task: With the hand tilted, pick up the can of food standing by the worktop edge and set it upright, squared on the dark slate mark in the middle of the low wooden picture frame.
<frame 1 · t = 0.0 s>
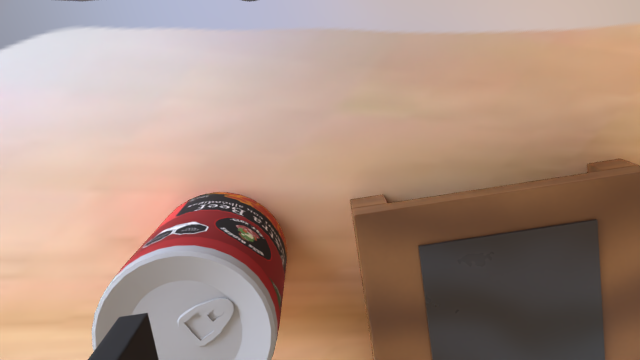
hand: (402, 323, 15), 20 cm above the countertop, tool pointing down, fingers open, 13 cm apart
canned food: (223, 250, 36), on the countertop
wooden picture frame: (495, 289, 36), on the countertop
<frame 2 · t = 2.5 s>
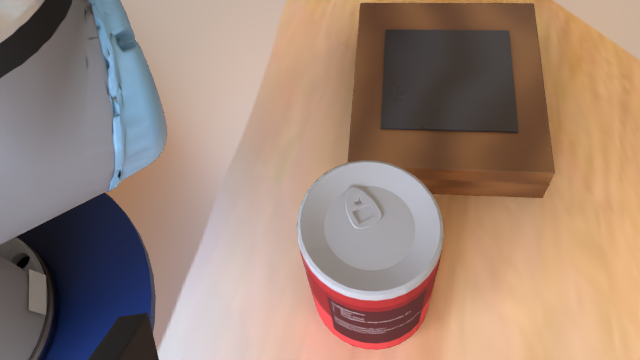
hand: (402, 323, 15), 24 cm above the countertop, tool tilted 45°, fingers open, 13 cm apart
canned food: (370, 295, 40), on the countertop
wooden picture frame: (442, 107, 48), on the countertop
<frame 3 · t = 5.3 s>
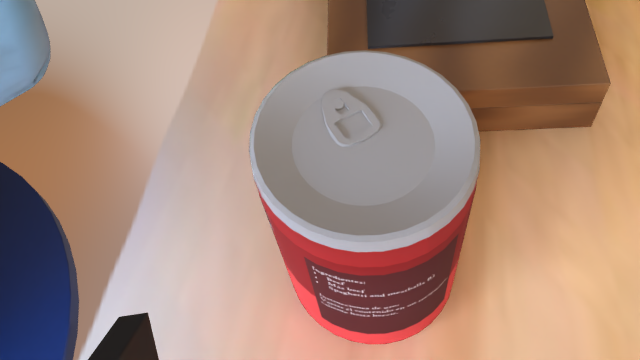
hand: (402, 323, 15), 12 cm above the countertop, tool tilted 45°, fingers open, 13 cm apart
canned food: (371, 270, 29), on the countertop
wooden picture frame: (445, 28, 37), on the countertop
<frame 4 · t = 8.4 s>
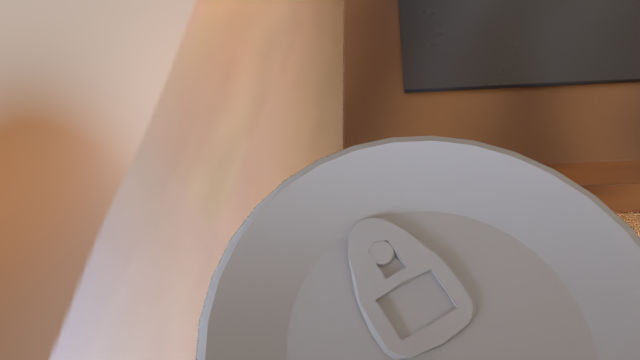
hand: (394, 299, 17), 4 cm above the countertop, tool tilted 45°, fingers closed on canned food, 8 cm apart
wooden picture frame: (506, 56, 26), on the countertop
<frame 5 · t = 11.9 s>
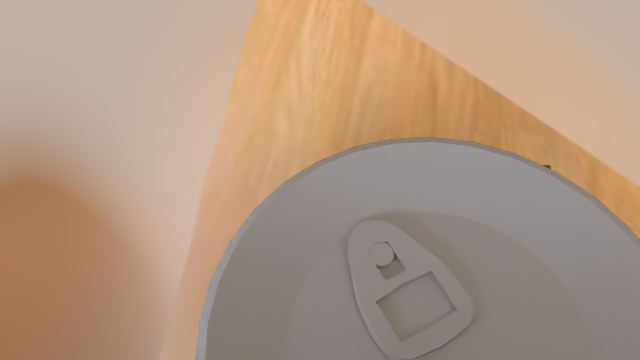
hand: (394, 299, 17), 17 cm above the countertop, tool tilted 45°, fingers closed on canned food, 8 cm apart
when the fingers open (7 cm above the countertop, at t = 15.9 s): canned food stays where it is, resting on wooden picture frame.
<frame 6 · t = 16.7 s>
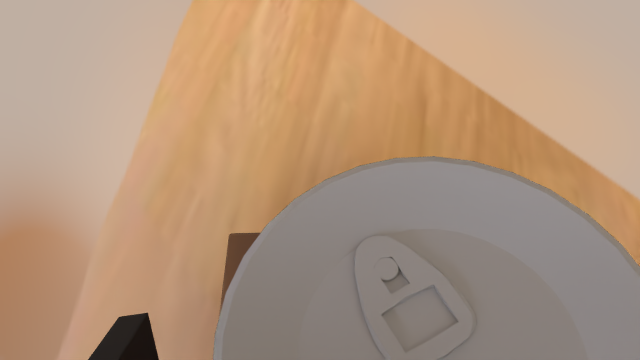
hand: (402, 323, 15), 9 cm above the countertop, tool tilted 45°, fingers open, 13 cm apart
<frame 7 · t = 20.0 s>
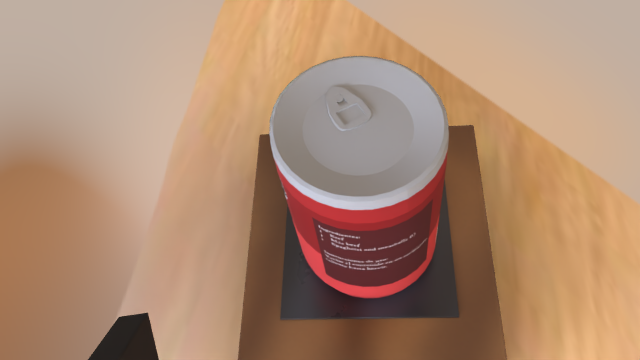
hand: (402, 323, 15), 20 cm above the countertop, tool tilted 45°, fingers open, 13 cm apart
canned food: (367, 240, 35), point 4 cm above the countertop, touching wooden picture frame
wooden picture frame: (369, 263, 38), on the countertop
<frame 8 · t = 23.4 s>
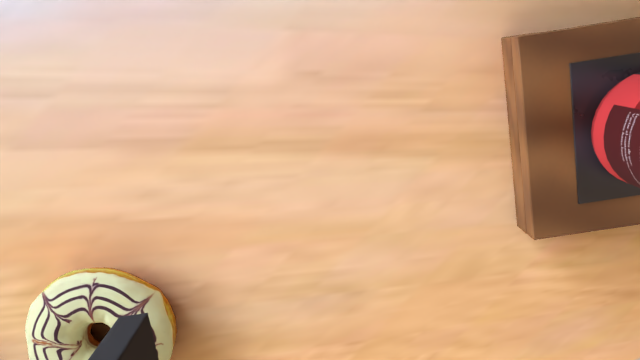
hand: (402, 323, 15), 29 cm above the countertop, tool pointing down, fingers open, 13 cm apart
decorated donut: (112, 322, 46), on the countertop
wooden picture frame: (618, 118, 43), on the countertop
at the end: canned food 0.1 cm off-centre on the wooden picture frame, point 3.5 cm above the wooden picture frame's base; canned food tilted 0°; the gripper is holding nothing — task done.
